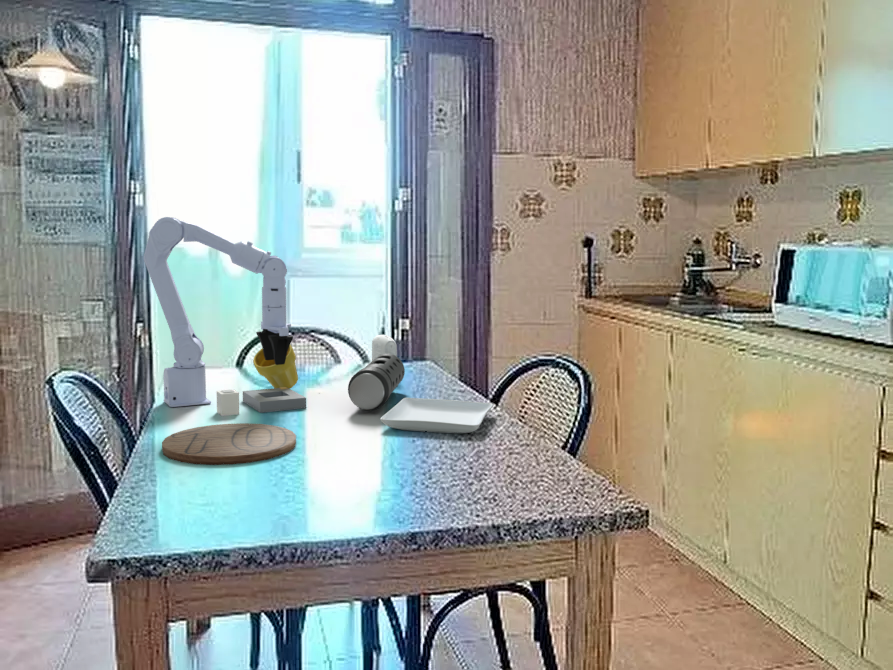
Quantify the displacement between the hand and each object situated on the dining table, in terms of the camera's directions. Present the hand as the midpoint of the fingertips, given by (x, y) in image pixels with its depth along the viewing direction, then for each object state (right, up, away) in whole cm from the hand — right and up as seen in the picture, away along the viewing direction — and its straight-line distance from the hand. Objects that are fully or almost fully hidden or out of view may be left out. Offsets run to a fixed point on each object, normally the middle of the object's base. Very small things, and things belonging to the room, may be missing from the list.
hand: (274, 362), depth 201 cm
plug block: (-8, -11, -14) cm, 19 cm away
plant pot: (0, -6, +13) cm, 15 cm away
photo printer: (+24, -6, +31) cm, 40 cm away
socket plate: (+1, -10, -4) cm, 11 cm away
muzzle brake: (+25, -10, -1) cm, 27 cm away
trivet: (0, -16, -42) cm, 44 cm away
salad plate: (+40, -13, -21) cm, 47 cm away
